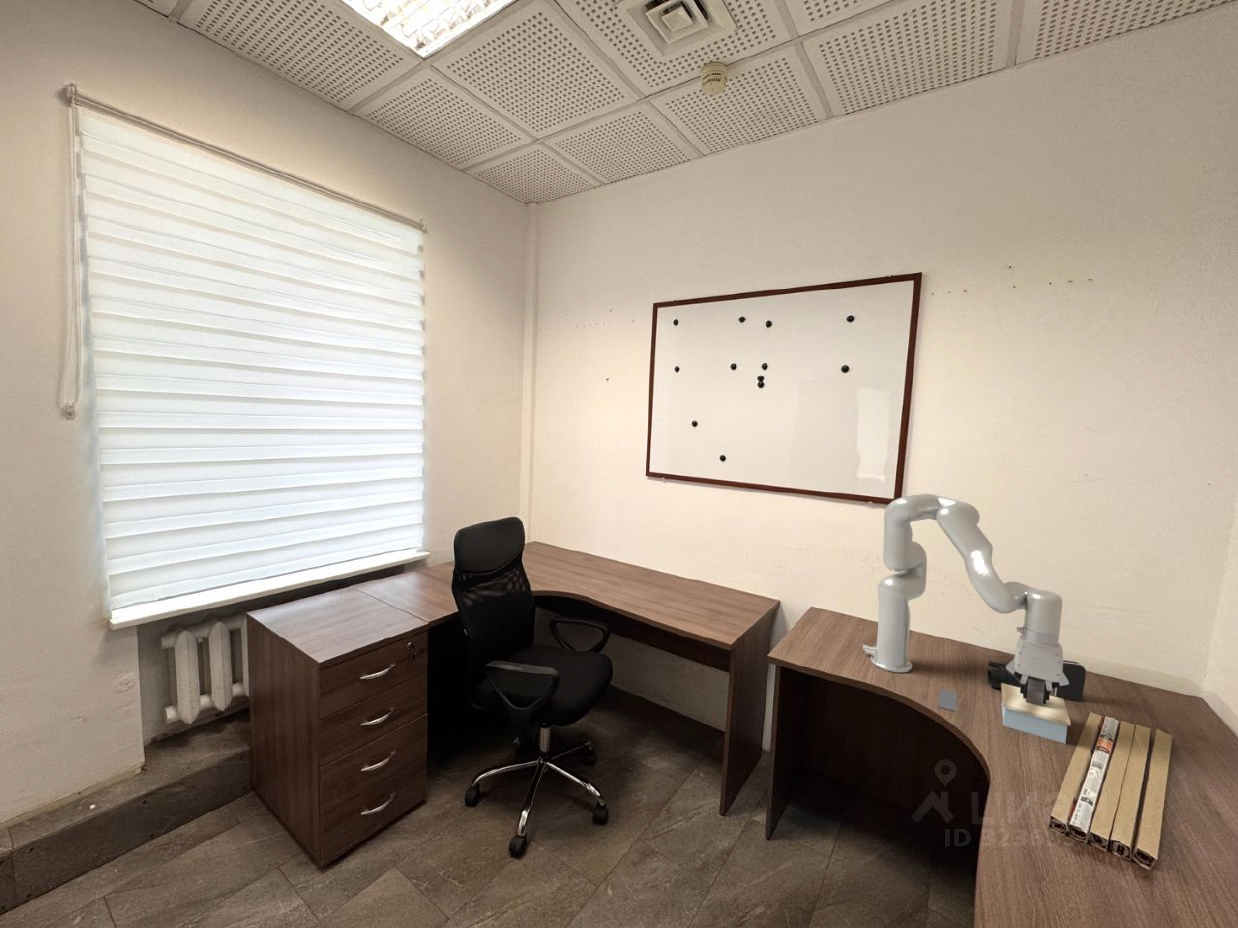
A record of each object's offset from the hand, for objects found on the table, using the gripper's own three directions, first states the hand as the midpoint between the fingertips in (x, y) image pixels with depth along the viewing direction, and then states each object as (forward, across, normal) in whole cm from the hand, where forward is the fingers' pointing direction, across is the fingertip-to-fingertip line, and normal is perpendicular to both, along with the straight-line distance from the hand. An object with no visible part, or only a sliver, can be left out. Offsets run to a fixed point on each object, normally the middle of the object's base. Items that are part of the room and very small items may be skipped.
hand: (1034, 698), depth 141 cm
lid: (+2, 0, 0) cm, 2 cm away
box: (+8, 0, 0) cm, 8 cm away
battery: (+8, +10, +25) cm, 28 cm away
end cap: (+8, -6, +20) cm, 22 cm away
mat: (+8, -17, 0) cm, 19 cm away
